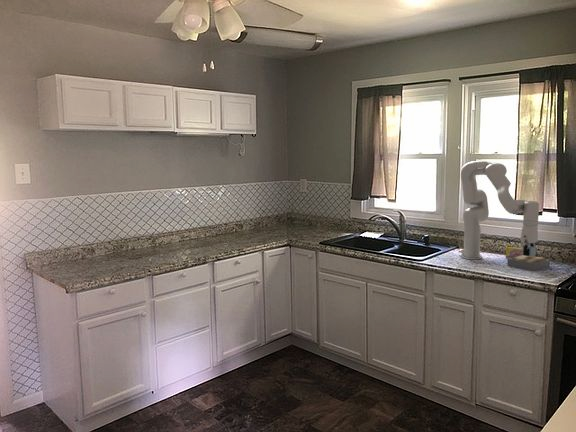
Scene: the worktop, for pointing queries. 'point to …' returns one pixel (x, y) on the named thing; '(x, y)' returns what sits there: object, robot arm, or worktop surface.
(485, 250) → the worktop surface
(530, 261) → the maple block
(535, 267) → the tote
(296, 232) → the worktop surface
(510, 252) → the candy box
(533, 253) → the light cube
